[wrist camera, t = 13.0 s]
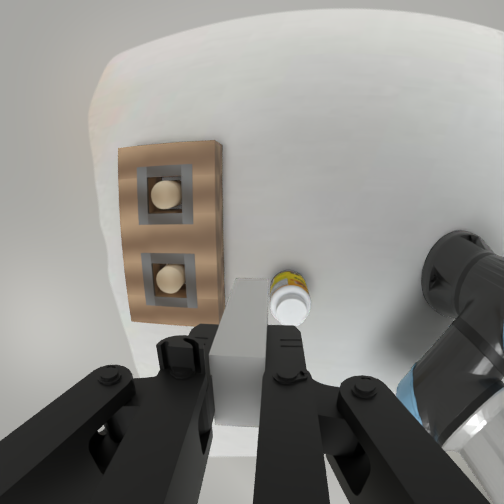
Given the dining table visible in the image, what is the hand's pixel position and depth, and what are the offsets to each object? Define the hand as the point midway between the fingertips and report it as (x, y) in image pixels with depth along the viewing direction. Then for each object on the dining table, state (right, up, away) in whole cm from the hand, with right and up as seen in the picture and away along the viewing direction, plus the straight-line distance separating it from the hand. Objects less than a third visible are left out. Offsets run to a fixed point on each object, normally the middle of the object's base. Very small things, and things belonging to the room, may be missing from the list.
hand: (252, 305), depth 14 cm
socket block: (-11, +6, +33) cm, 35 cm away
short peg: (-11, 0, +34) cm, 36 cm away
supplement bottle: (+6, -3, +34) cm, 34 cm away
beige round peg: (-11, +11, +31) cm, 35 cm away
